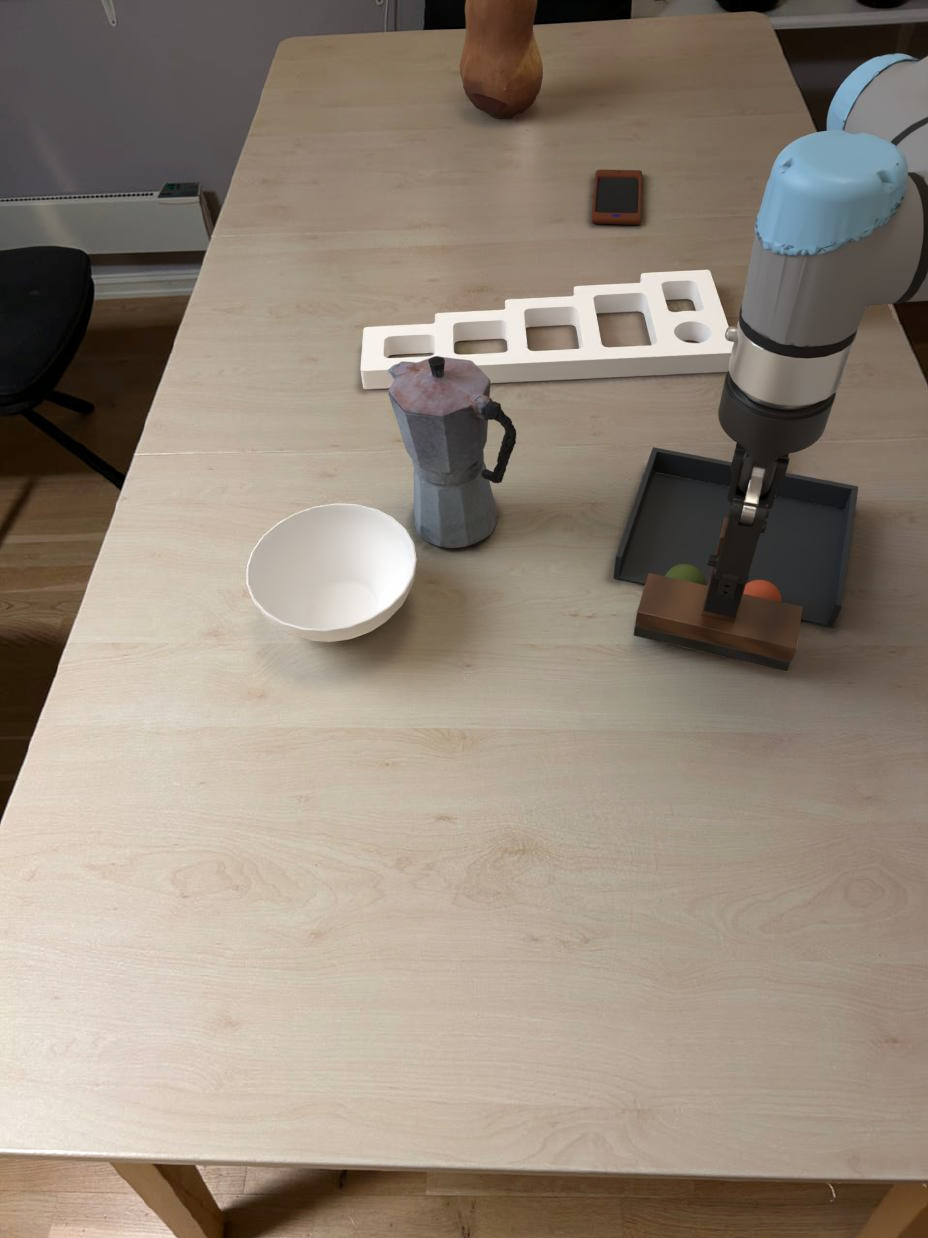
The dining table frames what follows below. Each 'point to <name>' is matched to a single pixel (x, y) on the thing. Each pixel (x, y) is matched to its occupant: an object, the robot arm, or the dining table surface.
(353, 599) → the bowl
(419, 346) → the holder
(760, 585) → the ball
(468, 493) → the moka pot
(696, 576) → the ball
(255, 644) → the dining table surface
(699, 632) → the brush
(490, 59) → the butternut squash
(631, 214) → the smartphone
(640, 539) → the dustpan
